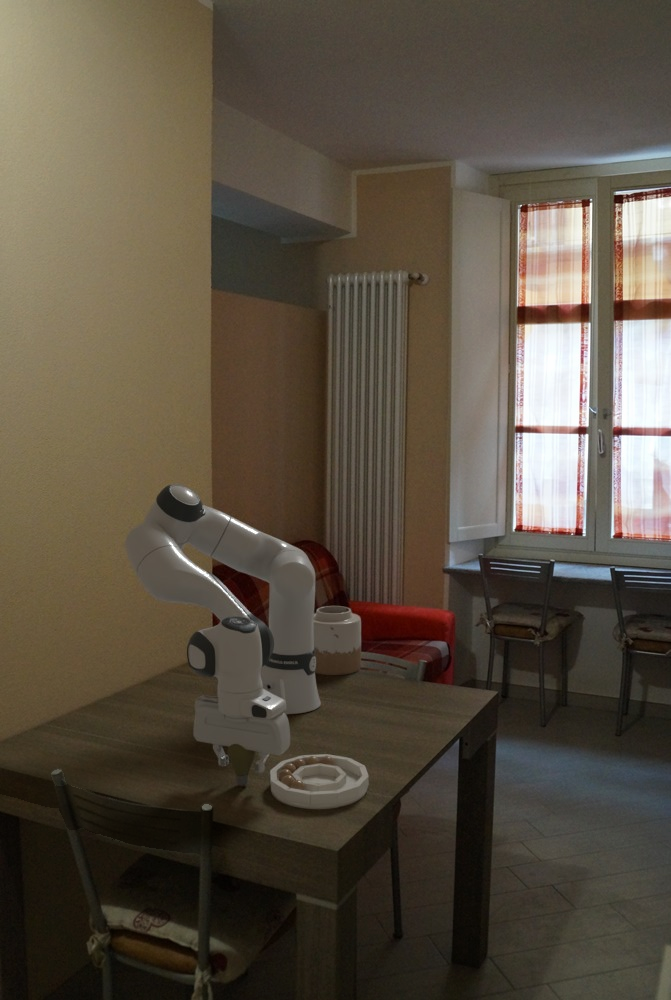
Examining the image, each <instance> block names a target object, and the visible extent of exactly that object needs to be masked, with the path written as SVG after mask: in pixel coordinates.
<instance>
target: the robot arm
mask: <svg viewBox="0 0 671 1000" xmlns="http://www.w3.org/2000/svg"><path fill="white" fill-rule="evenodd" d="M155 499H156V500H154V502H153V504H152V505H151V506H150V508H149V510H148V511H147V513H146V515H145V516H144V520H143V522H142V523H140V524H137V525H136V526H134V527H133V528H131V530H129V532H128V534H127V535H126V537H125V541H124V547H125V551H126V555H127V558H128V561H129V562H130V565H131V568H132V569H133V571H134V573H135V575H136V576H137V578H138V580H139V582H140V583H141V585H142V586H143V588H144V590H145V591H146V592H147V593H148V594H149V595H151V597H153V598H155V600H159V601H162V602H165V603H174V604H175V603H176V604H188V605H189V604H190V605H195V606H198V607H199V606H200V607H203V608H205V609H208V610H209V611H211V612H212V613H213V614H214V615H215V617H217V619H219V623H218V624H217V625H215V626H212V627H206V628H203V629H200V630H197V631H195V632H193V634H191V636H190V637H189V640H188V643H187V645H186V646H187V647H186V658H187V659H186V660H187V664H188V666H189V667H190V668H191V670H193V671H194V673H196V674H197V675H199V676H201V677H204V678H205V677H207V678H212V677H214V678H217V680H218V681H217V682H218V683H217V696H210V695H207V694H202V695H201V696H199V697H197V698H196V700H195V701H194V712H195V713H194V714H195V715H194V722H193V732H192V733H193V737H194V739H195V741H197V742H199V743H200V742H201V743H206V744H212V750H213V751H214V753H215V755H216V757H217V761H218V766H222V767H227V766H228V765H229V764H230V760H229V757H228V754H226V752H225V750H224V748H223V747H228V746H231V745H232V744H239V745H241V746H242V747H244V748H245V749H247V750H252V751H256V752H258V757H260V760H257V761H256V762H255V763H254V764H253V767H254V769H253V771H254V772H255V773H260V774H261V773H262V774H263V773H264V772H265V770H266V769H265V768H266V766H265V765H266V761H267V760H268V758H269V756H270V754H271V755H277V756H280V755H282V754H283V753H285V752H286V751H287V750H288V749H289V747H290V745H291V731H290V730H291V729H290V728H291V727H290V724H289V723H290V722H289V718H288V715H294V714H303V713H307V712H311V711H315V710H317V709H318V708H320V707H321V705H322V703H321V700H320V695H319V691H318V686H317V679H316V673H315V671H316V651H315V648H314V614H315V603H316V601H315V600H316V572H315V571H316V570H315V568H314V566H313V564H312V562H311V560H310V559H309V557H308V554H306V552H304V551H303V550H302V549H300V548H298V547H297V546H295V545H292V544H290V543H288V542H286V541H284V540H281V539H279V538H277V537H274V536H272V535H270V534H267V533H265V532H263V531H261V530H259V529H256V527H253V526H251V525H248V524H247V523H245V522H243V521H240V520H239V519H237V518H235V517H233V516H231V515H229V514H227V513H225V512H224V511H220V510H218V509H216V508H214V507H211V506H208V505H204V504H203V502H202V500H201V498H200V497H199V496H198V494H197V493H196V491H195V492H194V490H192V489H190V488H189V487H187V486H184V485H181V484H169V485H165V487H164V488H162V490H161V491H160V492H159V493H158V494H157V496H156V498H155ZM186 544H188V545H190V546H191V547H193V548H194V549H195V550H197V551H199V552H200V553H202V554H204V555H206V556H207V557H210V558H212V559H214V560H215V561H217V562H220V563H221V564H224V565H226V566H227V567H229V568H230V569H232V570H233V569H234V570H235V571H237V572H238V573H239V572H240V573H242V574H246V575H249V576H252V577H255V578H257V579H260V580H262V581H264V582H266V583H268V584H269V585H268V586H269V587H268V588H269V589H268V590H269V598H268V599H269V602H268V604H269V605H268V625H267V624H266V623H265V622H264V621H262V619H260V618H258V617H257V616H255V615H254V614H253V613H252V612H250V611H249V610H248V609H247V607H246V606H245V605H244V604H243V603H242V602H241V601H240V600H239V598H238V597H236V596H235V595H234V593H233V592H231V590H230V589H229V588H228V587H227V586H226V585H225V584H224V583H223V582H222V581H221V580H220V579H219V578H218V577H217V576H215V575H214V574H213V573H211V572H209V571H207V570H205V569H203V568H202V567H200V566H198V565H197V564H196V563H194V562H193V561H192V560H191V559H190V558H188V556H187V555H186V554H185V553H184V552H183V549H185V546H186Z"/></svg>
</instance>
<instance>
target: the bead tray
mask: <svg viewBox="0 0 671 1000" xmlns="http://www.w3.org/2000/svg"><path fill="white" fill-rule="evenodd" d="M269 777H270V778H269V780H270V792H271V795H272V796H273V797H274V798H275V799H276V800H277V801H279V802H281V803H282V804H285V805H287V806H290V807H295V808H300V809H304V810H305V809H307V810H308V809H309V810H330V809H337V808H341V807H342V808H343V807H345V806H349V805H352V804H353V803H356V802H358V801H359V800H361V799H362V798H363V797H364V796H365V795H366V794H367V792H368V787H369V785H370V783H369V781H370V780H369V779H370V778H369V777H370V776H369V773H368V771H367V768H366V765H364V764H362V763H360V762H359V761H357V760H355V759H353V758H350V757H346V756H342V755H333V754H329V753H328V754H327V753H324V754H304V755H298V756H295V757H292V758H288V759H285V760H284V759H283V760H281V761H280V762H279V763H278V764H276V765H275V766H274V767H273V768H271V769H270V770H269Z"/></svg>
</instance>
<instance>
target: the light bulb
mask: <svg viewBox="0 0 671 1000" xmlns="http://www.w3.org/2000/svg"><path fill="white" fill-rule="evenodd" d="M256 753H257V751H252V750H247V749H245V748H244V747H242V746H241V745H239V744H232V745H231V746H227V755H228V757H229V759H228V760H229V763H230V764H231V765H232V768H233V772H234V774H235V777H236V778H235V779H236V780H235V781H236V782H235V784H237V785H238V786H240V787H245V786H246V785H247V784H248V783H249V775H250V771H251V766H252V764H253V762H254V759H255V757H256Z"/></svg>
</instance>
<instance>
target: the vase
mask: <svg viewBox="0 0 671 1000" xmlns="http://www.w3.org/2000/svg"><path fill="white" fill-rule="evenodd" d="M314 648H315V651H316V671H315V674H318V675H323V676H346V675H350V674H354V673H356V672H358V671H360V670H361V667H362V619H361V616H360V615H358V614H356V613H353V612H352V608H350V607H347V606H341V605H329V606H328V605H326V606H321V607H318V608H316V612H314Z"/></svg>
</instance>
